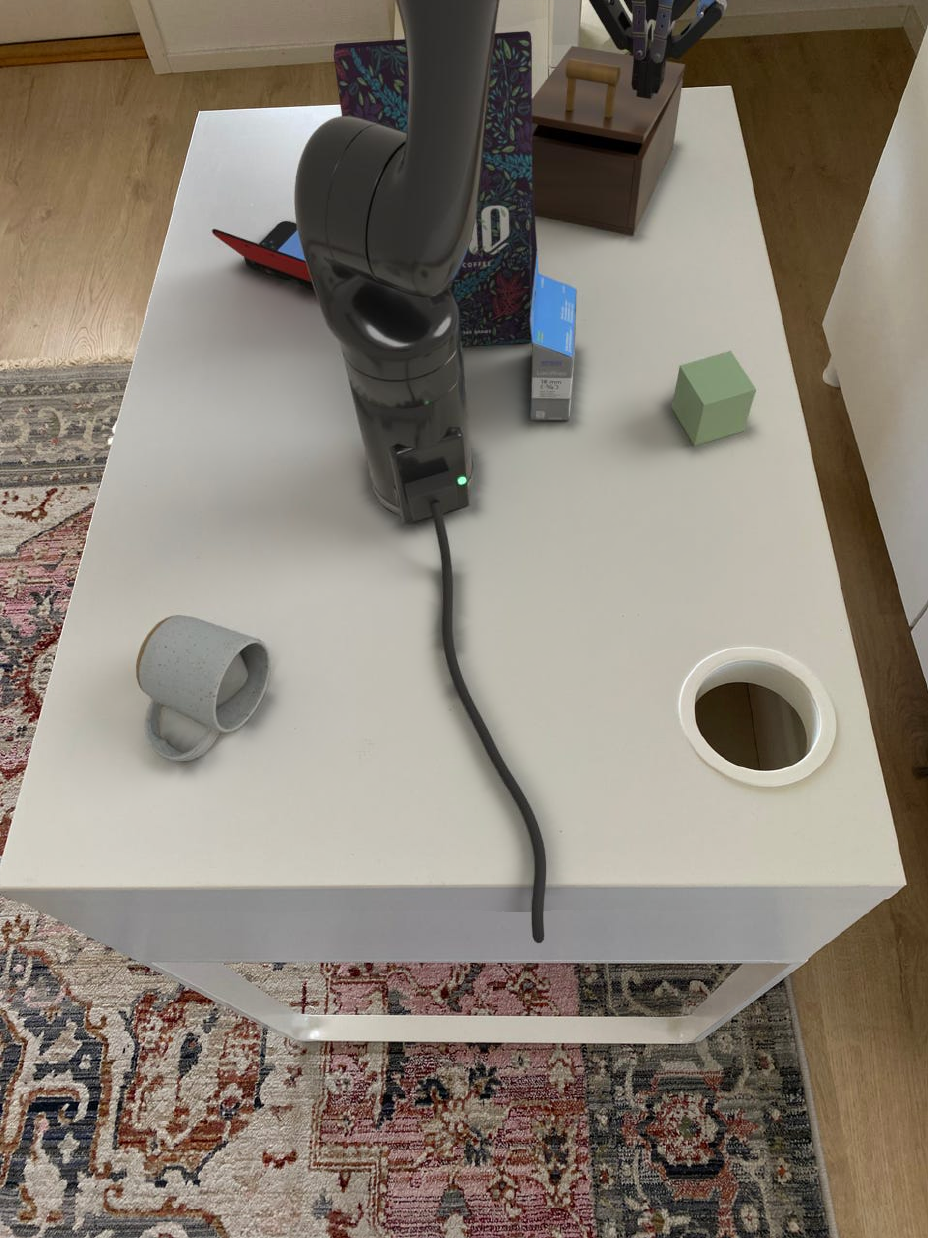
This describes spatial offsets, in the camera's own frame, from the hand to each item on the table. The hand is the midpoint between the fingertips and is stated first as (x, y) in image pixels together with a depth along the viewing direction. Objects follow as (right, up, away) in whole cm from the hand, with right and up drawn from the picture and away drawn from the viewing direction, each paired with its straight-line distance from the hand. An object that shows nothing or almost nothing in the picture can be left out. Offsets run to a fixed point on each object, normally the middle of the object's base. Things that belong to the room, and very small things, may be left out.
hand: (646, 93), depth 92 cm
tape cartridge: (-9, -29, -1) cm, 30 cm away
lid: (-3, +3, +5) cm, 7 cm away
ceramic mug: (-38, -58, -15) cm, 72 cm away
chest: (-3, -2, +14) cm, 14 cm away
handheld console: (-35, -14, +9) cm, 39 cm away
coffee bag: (-19, -21, +4) cm, 28 cm away
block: (+5, -33, -4) cm, 33 cm away
